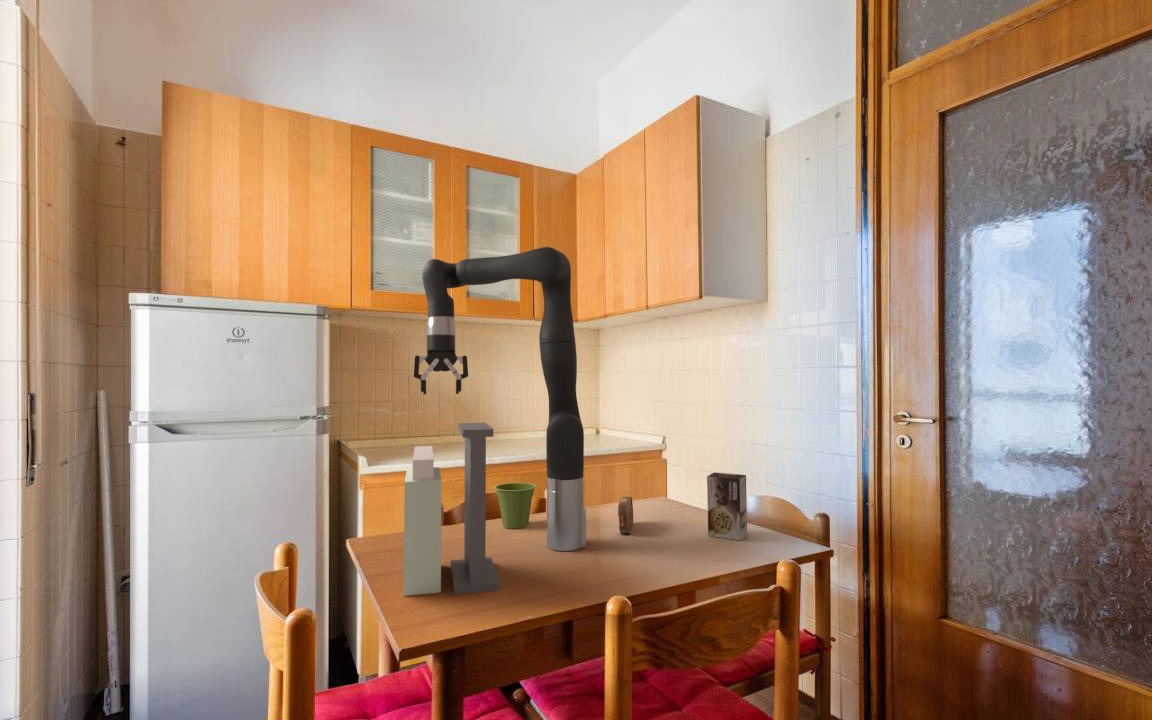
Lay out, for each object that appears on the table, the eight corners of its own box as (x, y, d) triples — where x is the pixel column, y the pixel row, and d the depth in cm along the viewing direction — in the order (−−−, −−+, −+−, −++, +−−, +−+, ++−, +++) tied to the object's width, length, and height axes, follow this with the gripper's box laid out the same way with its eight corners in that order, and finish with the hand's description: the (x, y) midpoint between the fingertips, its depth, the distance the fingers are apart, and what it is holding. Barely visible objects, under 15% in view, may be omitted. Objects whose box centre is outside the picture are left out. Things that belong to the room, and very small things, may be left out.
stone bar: (432, 462, 131) (432, 445, 131) (433, 479, 109) (433, 459, 110) (414, 463, 130) (414, 446, 130) (412, 480, 108) (412, 460, 108)
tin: (628, 537, 145) (628, 505, 145) (616, 537, 146) (616, 505, 146) (634, 522, 160) (634, 493, 160) (623, 522, 160) (623, 493, 161)
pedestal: (438, 565, 124) (439, 467, 124) (440, 592, 108) (441, 480, 109) (406, 568, 122) (407, 468, 122) (403, 596, 106) (404, 482, 107)
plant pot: (536, 520, 162) (536, 481, 163) (535, 531, 151) (535, 490, 151) (496, 520, 162) (496, 482, 162) (492, 532, 150) (492, 490, 150)
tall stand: (491, 563, 125) (491, 422, 126) (500, 589, 109) (500, 429, 110) (450, 567, 122) (451, 423, 123) (454, 594, 107) (455, 430, 108)
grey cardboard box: (748, 535, 147) (747, 474, 147) (741, 541, 141) (740, 478, 142) (714, 530, 152) (714, 471, 152) (706, 535, 146) (706, 475, 147)
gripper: (413, 332, 143) (413, 395, 143) (468, 333, 147) (469, 394, 147) (414, 335, 151) (414, 394, 150) (466, 335, 154) (467, 393, 154)
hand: (441, 394), depth 148 cm, fingers open, 8 cm apart
